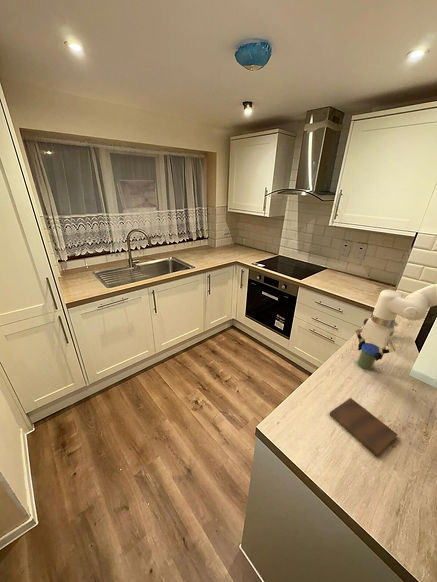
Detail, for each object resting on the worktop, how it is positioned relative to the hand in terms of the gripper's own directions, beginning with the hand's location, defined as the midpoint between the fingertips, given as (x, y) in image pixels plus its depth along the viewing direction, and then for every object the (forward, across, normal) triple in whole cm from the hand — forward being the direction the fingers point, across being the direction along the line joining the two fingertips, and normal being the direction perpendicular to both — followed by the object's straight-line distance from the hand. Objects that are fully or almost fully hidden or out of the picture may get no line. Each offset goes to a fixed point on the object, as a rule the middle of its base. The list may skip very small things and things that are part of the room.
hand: (368, 353), depth 103 cm
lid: (-3, 0, 0) cm, 3 cm away
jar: (+6, 0, 0) cm, 6 cm away
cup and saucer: (+7, +14, -35) cm, 39 cm away
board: (+6, -16, +30) cm, 35 cm away
